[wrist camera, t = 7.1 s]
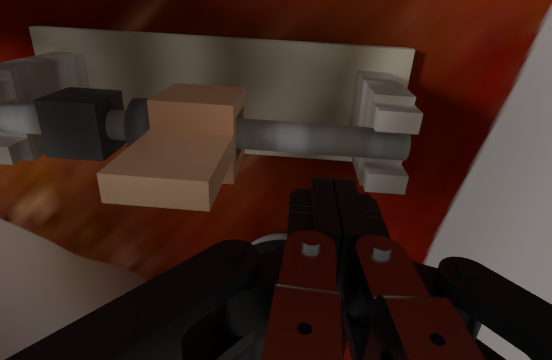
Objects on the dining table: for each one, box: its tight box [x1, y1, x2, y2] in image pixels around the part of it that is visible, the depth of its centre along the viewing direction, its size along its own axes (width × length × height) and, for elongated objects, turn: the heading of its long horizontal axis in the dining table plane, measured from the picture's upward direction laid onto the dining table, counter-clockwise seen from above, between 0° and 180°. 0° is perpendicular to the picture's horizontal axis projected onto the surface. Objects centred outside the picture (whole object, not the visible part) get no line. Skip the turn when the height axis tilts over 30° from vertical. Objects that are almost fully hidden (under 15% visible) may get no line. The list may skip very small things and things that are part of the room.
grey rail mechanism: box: [0, 26, 423, 195], centre depth 22 cm, size 26×8×10 cm, turn 87°
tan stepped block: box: [97, 83, 246, 211], centre depth 17 cm, size 4×4×9 cm
